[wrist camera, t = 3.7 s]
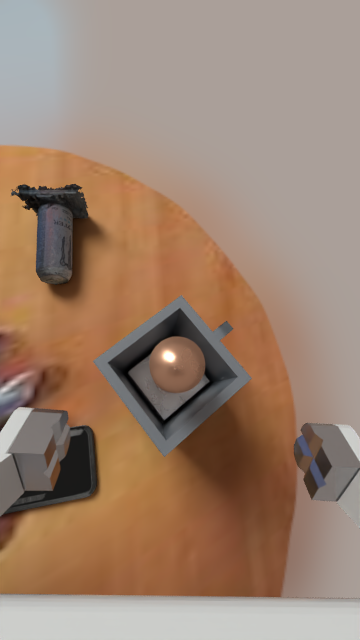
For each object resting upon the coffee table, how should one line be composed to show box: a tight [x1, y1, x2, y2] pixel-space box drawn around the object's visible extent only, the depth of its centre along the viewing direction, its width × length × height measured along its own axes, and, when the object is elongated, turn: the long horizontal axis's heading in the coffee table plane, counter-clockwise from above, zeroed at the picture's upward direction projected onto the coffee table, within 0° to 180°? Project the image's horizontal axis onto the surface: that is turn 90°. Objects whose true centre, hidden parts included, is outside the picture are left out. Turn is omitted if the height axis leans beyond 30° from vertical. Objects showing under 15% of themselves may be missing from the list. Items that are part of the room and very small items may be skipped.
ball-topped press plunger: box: [128, 336, 209, 420], centre depth 24 cm, size 6×6×14 cm
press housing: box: [93, 295, 252, 457], centre depth 29 cm, size 9×12×15 cm
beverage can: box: [10, 184, 88, 285], centre depth 37 cm, size 9×8×12 cm
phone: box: [3, 425, 97, 514], centre depth 32 cm, size 8×1×15 cm
